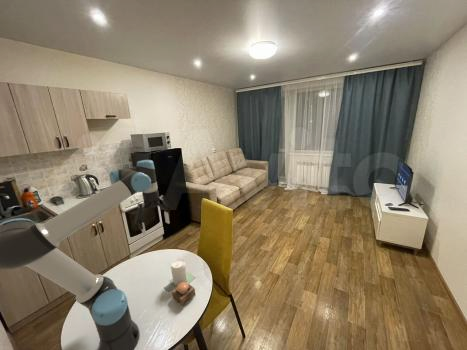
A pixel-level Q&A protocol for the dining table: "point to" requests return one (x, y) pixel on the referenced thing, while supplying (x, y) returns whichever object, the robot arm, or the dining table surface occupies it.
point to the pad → (189, 278)
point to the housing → (186, 297)
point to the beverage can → (179, 271)
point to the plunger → (182, 288)
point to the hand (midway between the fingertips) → (156, 228)
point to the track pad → (169, 287)
